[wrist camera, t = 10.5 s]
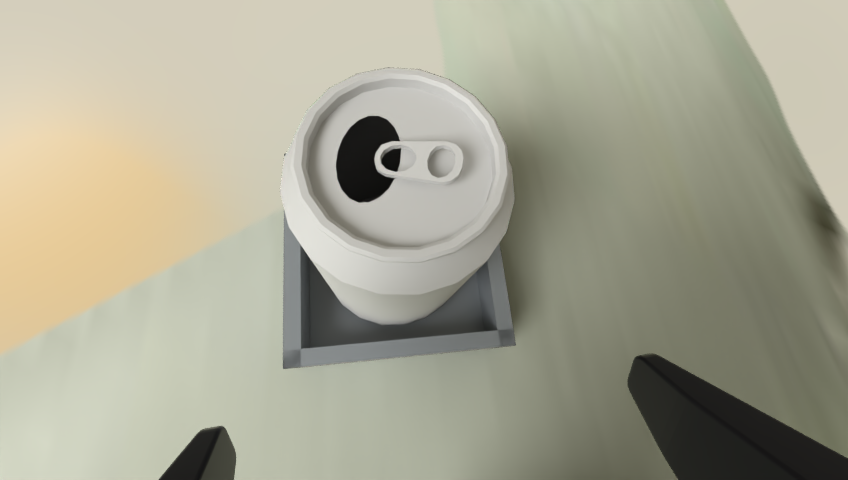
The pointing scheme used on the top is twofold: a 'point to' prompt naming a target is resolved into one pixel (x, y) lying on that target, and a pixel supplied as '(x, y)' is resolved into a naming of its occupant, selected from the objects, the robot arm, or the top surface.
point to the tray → (364, 340)
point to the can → (397, 191)
